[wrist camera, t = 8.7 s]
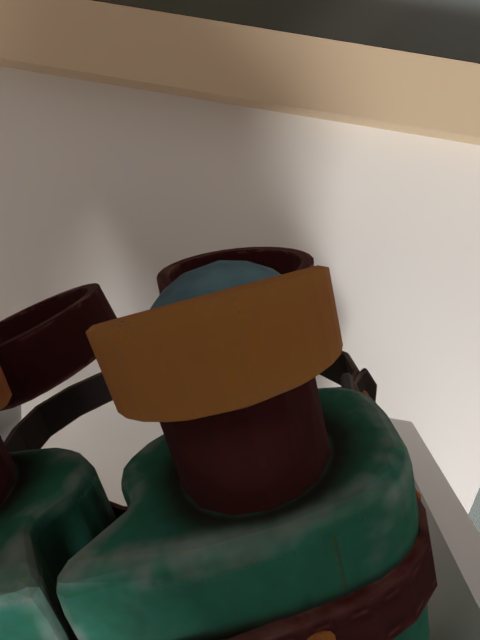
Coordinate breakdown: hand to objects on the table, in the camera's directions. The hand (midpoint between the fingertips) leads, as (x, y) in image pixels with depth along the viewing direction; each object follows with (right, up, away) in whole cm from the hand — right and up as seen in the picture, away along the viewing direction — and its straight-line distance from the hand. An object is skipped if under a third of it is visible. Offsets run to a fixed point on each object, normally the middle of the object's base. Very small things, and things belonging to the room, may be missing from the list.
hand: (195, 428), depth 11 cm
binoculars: (0, +1, +2) cm, 3 cm away
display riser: (0, +1, +4) cm, 4 cm away
